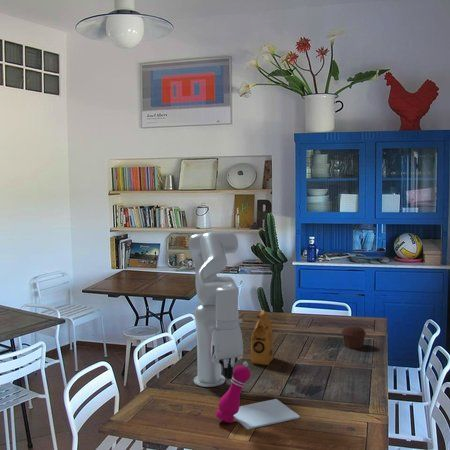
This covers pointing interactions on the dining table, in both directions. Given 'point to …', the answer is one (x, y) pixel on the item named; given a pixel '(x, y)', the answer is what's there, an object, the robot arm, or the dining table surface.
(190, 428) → the dining table surface
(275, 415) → the mat
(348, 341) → the muffin
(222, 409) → the pepper mill
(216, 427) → the dining table surface
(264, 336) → the coffee package
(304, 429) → the dining table surface
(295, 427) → the dining table surface
